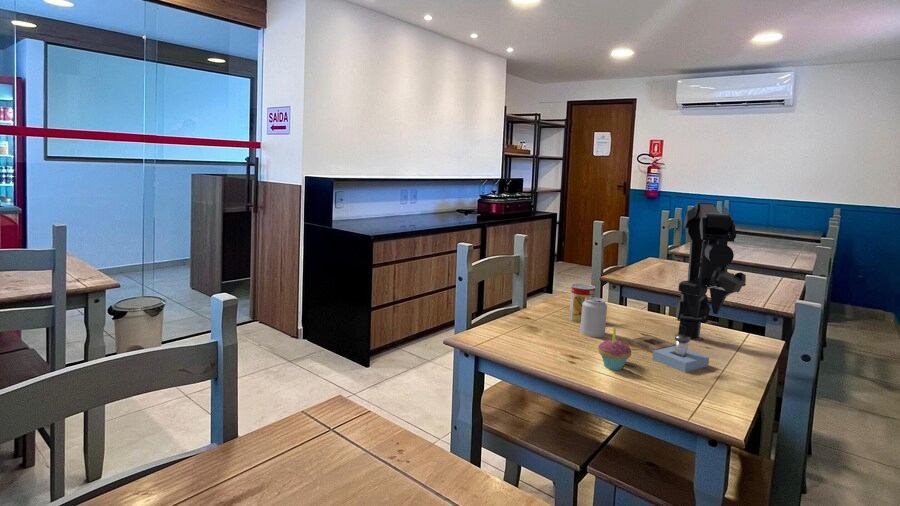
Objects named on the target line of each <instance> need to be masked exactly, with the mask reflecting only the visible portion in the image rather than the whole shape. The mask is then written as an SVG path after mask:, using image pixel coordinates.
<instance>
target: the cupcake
mask: <svg viewBox="0 0 900 506" xmlns="http://www.w3.org/2000/svg"><path fill="white" fill-rule="evenodd" d="M616 331H617V328H616V325H615V324H613V328H612V339H608V340H607V339H606V340H604V341H602V342H601V343H600V344H598V347H597V351H598V353H599V355H600V356H601V359H602V362H603V366H604V367H605V368H607V369H609V370H613V371H621V370H623V368H624V366H625V364H626V362H627V360H628V359H629V358H630V357H631V356H632V350H631V349H632V348H631V347H630V345H628V344H626V343H625V342H623V341H621V340H618V339H616V333H617V332H616Z"/></svg>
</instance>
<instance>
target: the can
mask: <svg viewBox="0 0 900 506" xmlns="http://www.w3.org/2000/svg"><path fill="white" fill-rule="evenodd" d="M606 302H607V301H606V300H605V299H603V298H600V297H595V296H594V297H589V298H585V301H584V302H583V303H582V314H581V323H580V327H579V328H580V331H579V333H580V334H581V335H583V336H586V337H591V338H602V337H605V334H606V325H607V314H608V304H607V303H606Z"/></svg>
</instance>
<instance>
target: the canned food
mask: <svg viewBox="0 0 900 506" xmlns="http://www.w3.org/2000/svg"><path fill="white" fill-rule="evenodd" d="M595 296H596V286H595V285H592V284H588V283H573V284H571V290H570V303H569V315H568V319H569V320H570V321H572V322H574V323H580V324H581V314H582V303H583V302H584V301H585V298H589V297H594V298H595Z"/></svg>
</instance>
